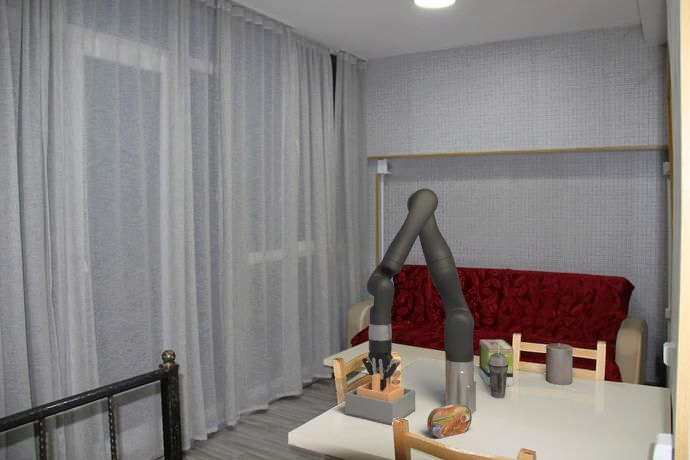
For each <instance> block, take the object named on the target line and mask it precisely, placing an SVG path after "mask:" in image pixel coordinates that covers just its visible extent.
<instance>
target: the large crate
mask: <svg viewBox="0 0 690 460" xmlns="http://www.w3.org/2000/svg"><path fill="white" fill-rule="evenodd" d="M369 382H370V381H368V382H365V384H367V383H369ZM365 384H363V385H365ZM357 388H358V387H356V388H354V389H352V390H350V391H348V392H346V393H345V394H344V412H345V413H344V415H345V416H349V417H353V418H357V419H361V420H366V421H370V422H375V423H379V424H382V425H387V426H392V422H393V419H394V418H397V417H399V418H404V419H406V418H407V417H408V416H410V415H411V414H413V413H414V412H416V389H412V388H411V389H410V388H407V387H404V395H403V396H402V397H400V398H398V399H396V400H395V401H393V402H387V401H382V400H378V399H373V398H368V397H363V396H358V395H357ZM392 427H393V426H392Z"/></svg>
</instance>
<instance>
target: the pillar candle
mask: <svg viewBox="0 0 690 460" xmlns="http://www.w3.org/2000/svg"><path fill="white" fill-rule="evenodd" d="M545 348H546V349H545V382H547V383H549V384H552V385H558V386H564V385H565V386H566V385H570V384H572V383H573V349H574V346H571V345H569V344H566V343H565V344H564V343H560V342H558V343H556V342H555V343H548V344H546V346H545Z"/></svg>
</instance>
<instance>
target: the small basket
mask: <svg viewBox="0 0 690 460" xmlns="http://www.w3.org/2000/svg"><path fill="white" fill-rule="evenodd" d="M387 372H388V370H387ZM371 379H372V380H371V381H368V382H369V383H368V382H366V383H367V384H366V383H365V385H364V384H362V385H360V386H358V387H356V388H357V395H358V396H363V397H368V398H373V399H378V400H382V401H387V402H393V401H395V400H396V399H398V398H400V397H402V396H403V395H404V388H405V387H404V386H401V387H400V386H395V385H390V384H389V378H387V379H386V388H385V389H384V390H380V379H381V378H380V373H377V374H375V375H371Z"/></svg>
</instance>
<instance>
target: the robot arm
mask: <svg viewBox="0 0 690 460" xmlns="http://www.w3.org/2000/svg"><path fill="white" fill-rule="evenodd" d="M406 204H407V205H406V206H407V207H406V208H407V210H408V212H407V215H406V217H405V218H404V222H403V224H402V225H401V227H400V228H399V230H398V232H397V233H396V235H395V236H394V237H393V239H392V241H391V242H390V244H389V246H388V248H387V250H386V252H385V253H384V255H383V257H382V260H381V262H380V263H379V264H378V265H377V266H376V268H375V269H374V270H373V271H372V273H371V275H370V276H369V278H368V280H367V284H366V290H367V292H368V294H370V295H371V296H373V297H374V299H373V305H371V307H370V308H369V325H368V351H369V352H368V355H367V356H366V357H363V358H362V359H361V361H362V363H363V365H364V368H365V369H366V371H367V373H368V376H372V375H375V374H377V373H380V378H381V379H380V390H384V389H385V388H386V379H387V378H389V377H391V376H392V375H393V373H394V372H395V370H396V368H397V367H398V365H399V363H398V362H395V361H394V360H393V359H392V355H391V352H393V349H392V346H393V345H392V342H393V340H392V339H393V338H392V336H393V335H392V334H393V332H392V312H391V311H392V307H393V303H394V299H395V298H394V296H395V286H394V282H393V281H392V278H393V277H394V276H395V275H397V274H399V273H400V272H401V271H402V270H403V267H404V265H405V262H406V260H407V259H408V256H409V255H410V253H411V250H412V248H413V247H414V245H415V242H416V241H417V239H418V237H419V242H420V246H421V249H422V253H423V258H424V261H425V264H426V268H427V270H428V274H429V276H430V278H431V281H432V283H433V285H434V287H435V288H436V290H437V292H438V294H439V296H440V297H441V300H442V303H443V307H444V313H445V317H446V319H445V321H444V326H443V327H444V334H443V338H444V339H443V340H444V343H443V344H444V355H445V359H444V360H445V362H444V363H445V369H444V370H445V372H444V373H445V381H444V382H445V389H444V390H445V393H444V394H445V401H444V402H445V406H449V405H453V404H461V405H465V406H467V407H468V408H469V409H470V411H471V415H472V414H473V413H474V412H475V411H477V396H476V395H477V382H476V381H474V380H475V378H474V377H475V374H474V373H475V370H474V369H475V368H474V367H475V365H474V362H475V361H474V358H475V353H474V328H475V320H474V317H473V315H472V313H471V310H470V308H469V306H468V303H467V301H466V299H465V296H464V293H463V288H462V285H461V281H460V275H459V272H458V268H457V265H456V262H455V258H454V255H453V252H452V250H451V247H450V246H449V244H448V242H447V241H446V239H445V238H444V235H443V234H442V233H441V231H440V228H439V227H438V224H437V219H436V215H435V212H436V210H437V208H438V206H439V197H438V195H437V194H436V192H435V191H434V190H432V189H431V188H420V189H418V190H416V191H414V192H413V193H412V194H411V195H410V196H409V197H408V199H407V202H406ZM389 364H390V369H389V370H388V365H389ZM387 370H388V372H387ZM445 406H444V407H445Z"/></svg>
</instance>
